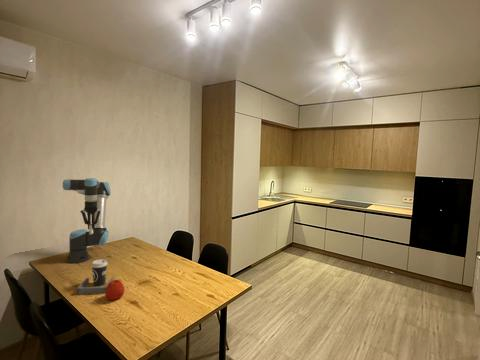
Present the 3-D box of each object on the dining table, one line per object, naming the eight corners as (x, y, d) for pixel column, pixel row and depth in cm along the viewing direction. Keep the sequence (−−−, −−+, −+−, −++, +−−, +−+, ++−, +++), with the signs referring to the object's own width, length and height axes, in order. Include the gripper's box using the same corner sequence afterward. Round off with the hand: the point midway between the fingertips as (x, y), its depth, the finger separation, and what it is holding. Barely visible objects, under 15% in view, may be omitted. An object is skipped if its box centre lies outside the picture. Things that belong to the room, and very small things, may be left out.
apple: (111, 304, 147) (111, 286, 146) (101, 298, 152) (101, 281, 152) (127, 296, 156) (127, 279, 155) (117, 291, 161) (117, 275, 160)
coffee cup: (101, 288, 164) (101, 265, 163) (87, 286, 165) (87, 263, 164) (110, 281, 173) (110, 259, 172) (97, 280, 175) (97, 258, 173)
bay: (87, 282, 170) (86, 277, 170) (113, 282, 172) (113, 277, 172) (76, 294, 156) (76, 288, 156) (105, 293, 158) (105, 287, 158)
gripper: (78, 201, 176) (78, 235, 178) (99, 201, 178) (99, 235, 181) (82, 199, 183) (83, 232, 186) (102, 199, 186) (103, 231, 188)
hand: (91, 233), depth 183 cm, fingers closed
